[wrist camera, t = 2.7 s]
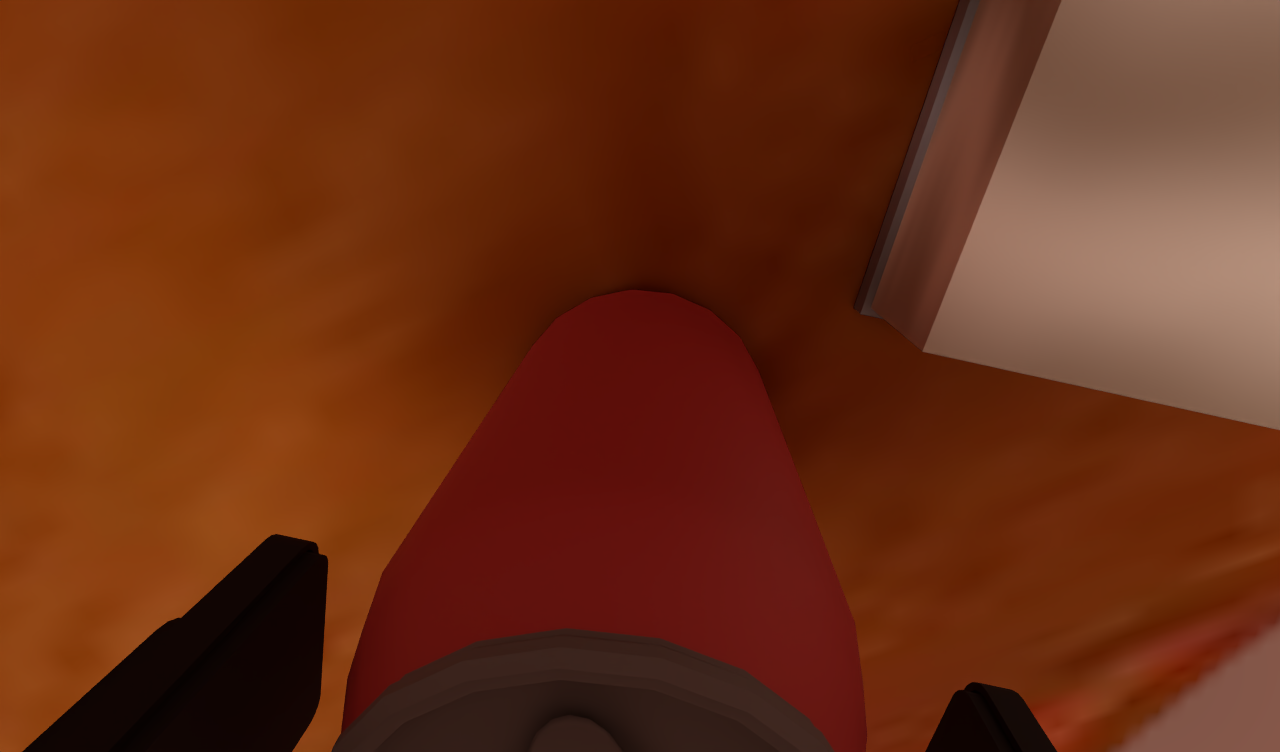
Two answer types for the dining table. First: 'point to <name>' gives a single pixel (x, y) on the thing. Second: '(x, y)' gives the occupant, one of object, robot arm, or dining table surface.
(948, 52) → the stand
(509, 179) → the dining table surface
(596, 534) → the beer can
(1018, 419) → the dining table surface
